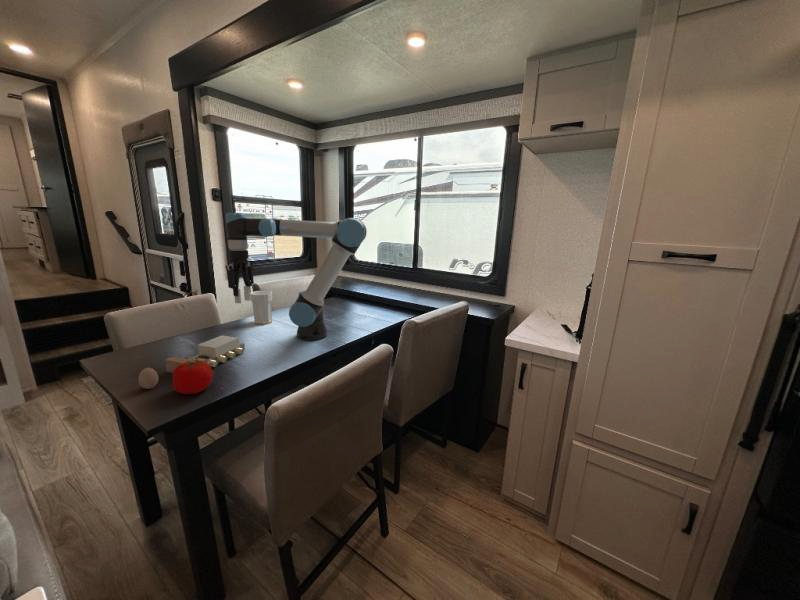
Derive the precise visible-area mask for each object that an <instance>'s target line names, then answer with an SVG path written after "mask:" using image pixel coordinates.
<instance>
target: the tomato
mask: <svg viewBox="0 0 800 600" xmlns="http://www.w3.org/2000/svg"><path fill="white" fill-rule="evenodd" d="M213 378H214V371H213V370H212V366H211V367H210V366H209V365H208V364H207V363H206V362H204V361H201V360H198V361H195V362H192V361H191V362H189V361H188V362H185V363H182V364H179V365H178V366H177V367H176V369H175V370H174V373H172V387H173V388H174V390H175V391H176V392H178V393H179V394H183V395H193V394H194V395H195V394H198V393H201V392H203V391H204V390H206V389H207V388H208V387H209V385H210V384H211V383H212V381H213Z"/></svg>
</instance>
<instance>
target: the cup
mask: <svg viewBox="0 0 800 600" xmlns="http://www.w3.org/2000/svg"><path fill="white" fill-rule="evenodd" d="M250 297H251V300H250V302H251V304H252V312H253V319H254V324H255V325H258V326H263V325H269V324H271V323H272V322H273V313H272V309H273V308H272V301H273V291H271V290H256V291H251V293H250Z"/></svg>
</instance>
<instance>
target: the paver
mask: <svg viewBox="0 0 800 600" xmlns="http://www.w3.org/2000/svg"><path fill="white" fill-rule="evenodd" d="M239 344H240V340H239V337H236V336H235V337H233V336H229V335H228V336H227V335H219V336H217V337H214V338H212V339H209V340H206V341H203V342H201V343H198V344H197V350H198V351H197V352H198V353H199V354H201V355H206V356H211V357H218V356H220V355H222V354H225V353H227V352H229V351H231V350H233V349H235V348H238V347H239ZM198 353H197V354H198Z"/></svg>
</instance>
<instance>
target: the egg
mask: <svg viewBox="0 0 800 600" xmlns="http://www.w3.org/2000/svg"><path fill="white" fill-rule="evenodd" d="M159 379H160V378H159V374H158V373H157V371H156V370H155V369H153V368H152V367H145V368H143V369H142V370H141V371H140V372H139V375H138V380H137V381H138V384H139V386H140V387H141V388H143V389H147V390H151V389H153V388H155V386H157V384H158V382H159Z"/></svg>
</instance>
